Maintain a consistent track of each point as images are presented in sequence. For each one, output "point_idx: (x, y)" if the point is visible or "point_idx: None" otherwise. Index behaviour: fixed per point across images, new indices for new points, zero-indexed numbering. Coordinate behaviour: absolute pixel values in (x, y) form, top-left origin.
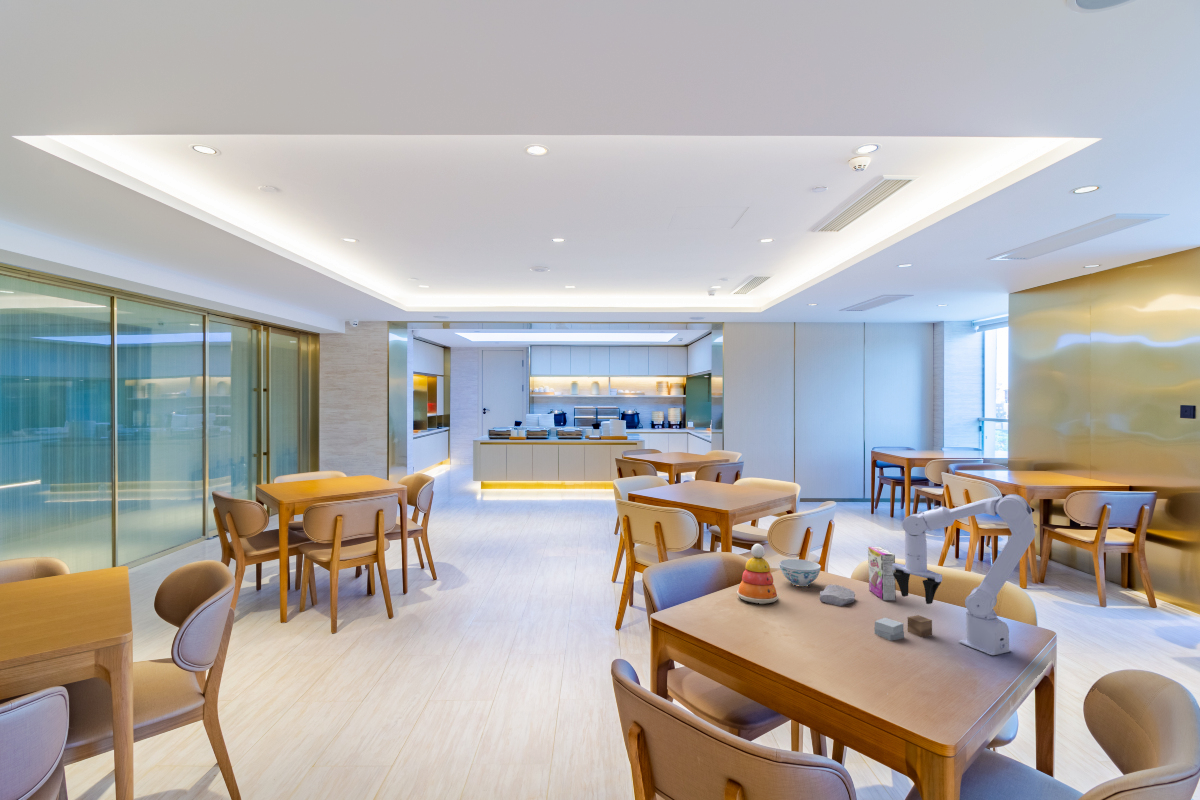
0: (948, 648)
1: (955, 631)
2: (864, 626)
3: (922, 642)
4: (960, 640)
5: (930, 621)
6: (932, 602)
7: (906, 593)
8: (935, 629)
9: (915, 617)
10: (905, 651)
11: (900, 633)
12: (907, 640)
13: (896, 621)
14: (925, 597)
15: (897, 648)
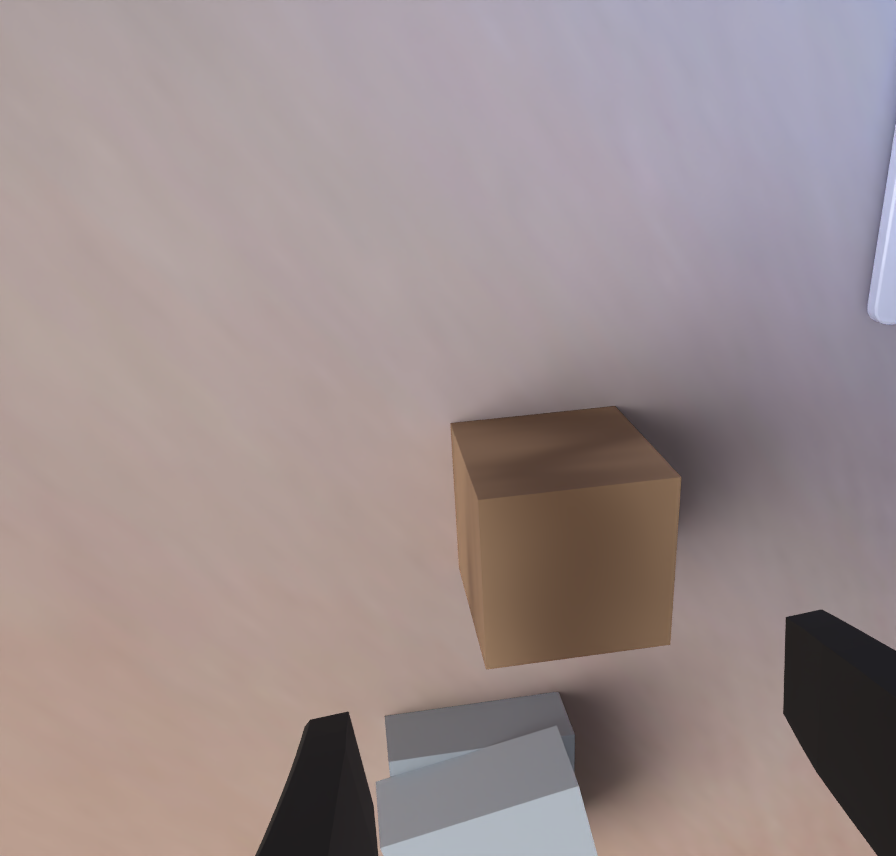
0: (873, 512)
1: (651, 25)
2: (228, 831)
3: (691, 619)
4: (879, 295)
5: (673, 494)
6: (837, 622)
7: (360, 787)
8: (512, 226)
9: (532, 595)
10: (741, 833)
11: (571, 762)
12: (608, 701)
13: (515, 816)
14: (853, 821)
15: (681, 850)
